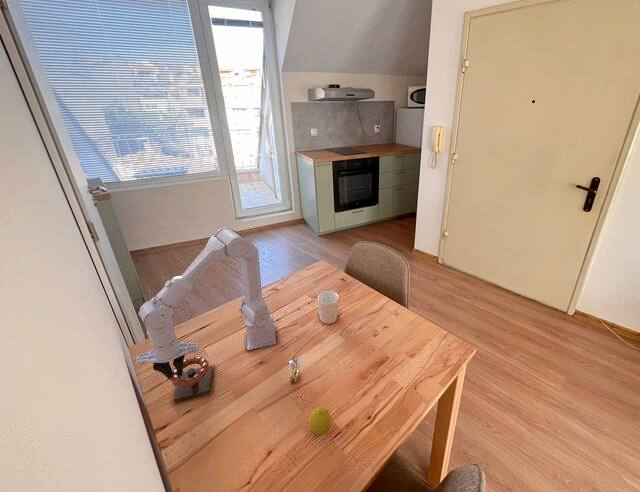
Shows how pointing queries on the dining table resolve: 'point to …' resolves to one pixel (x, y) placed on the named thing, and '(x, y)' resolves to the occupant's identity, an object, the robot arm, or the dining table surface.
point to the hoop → (191, 381)
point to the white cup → (328, 306)
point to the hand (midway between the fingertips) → (175, 374)
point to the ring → (295, 364)
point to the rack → (196, 389)
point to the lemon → (320, 421)
